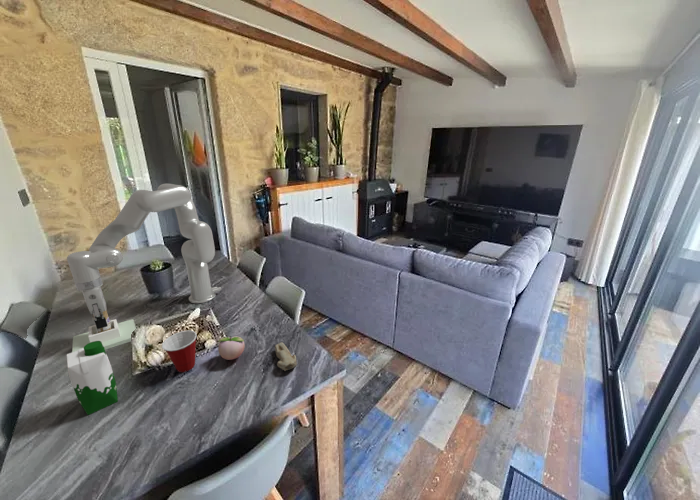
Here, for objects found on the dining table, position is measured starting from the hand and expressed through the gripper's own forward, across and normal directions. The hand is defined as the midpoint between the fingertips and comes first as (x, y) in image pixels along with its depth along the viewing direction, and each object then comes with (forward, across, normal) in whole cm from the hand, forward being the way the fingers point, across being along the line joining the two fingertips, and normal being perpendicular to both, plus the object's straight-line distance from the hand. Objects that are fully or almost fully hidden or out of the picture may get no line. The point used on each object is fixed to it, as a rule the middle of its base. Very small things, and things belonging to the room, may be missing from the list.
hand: (102, 323), depth 115 cm
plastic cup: (+8, -38, -20) cm, 44 cm away
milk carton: (+8, -38, +3) cm, 39 cm away
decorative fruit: (+8, -45, -35) cm, 57 cm away
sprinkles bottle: (+6, 0, 0) cm, 6 cm away
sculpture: (+8, -58, -49) cm, 77 cm away
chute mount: (+7, 0, 0) cm, 7 cm away
